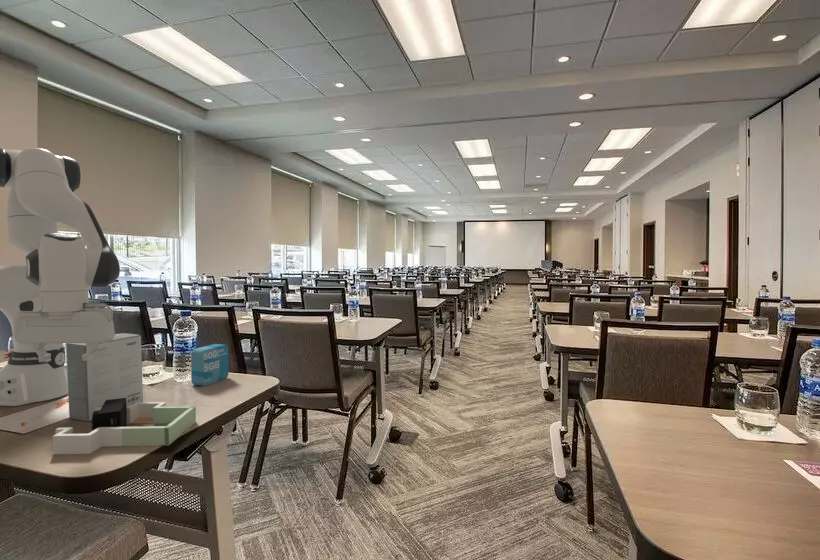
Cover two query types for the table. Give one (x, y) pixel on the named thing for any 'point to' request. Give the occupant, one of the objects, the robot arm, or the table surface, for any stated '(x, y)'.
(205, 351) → the data package
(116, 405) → the digital camera
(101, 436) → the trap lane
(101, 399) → the hard drive box
